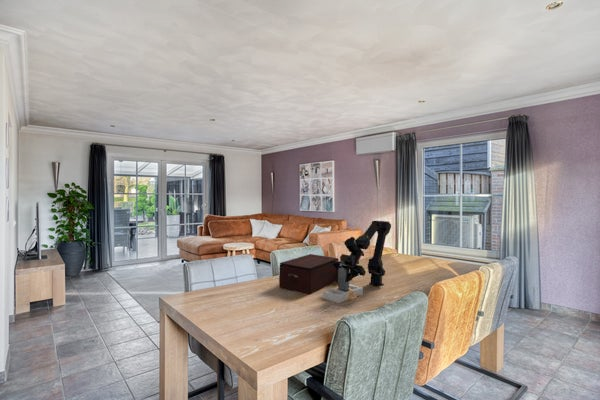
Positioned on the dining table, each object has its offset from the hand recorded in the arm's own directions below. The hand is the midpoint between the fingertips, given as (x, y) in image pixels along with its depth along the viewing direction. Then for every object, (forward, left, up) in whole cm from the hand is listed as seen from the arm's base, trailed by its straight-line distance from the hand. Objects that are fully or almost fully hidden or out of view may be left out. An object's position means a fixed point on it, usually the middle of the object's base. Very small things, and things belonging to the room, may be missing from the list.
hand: (342, 280), depth 173 cm
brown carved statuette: (-21, -24, -9) cm, 33 cm away
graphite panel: (-1, 0, -7) cm, 7 cm away
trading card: (+19, +18, -9) cm, 27 cm away
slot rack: (-1, 0, -8) cm, 9 cm away
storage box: (+3, -29, -9) cm, 30 cm away
